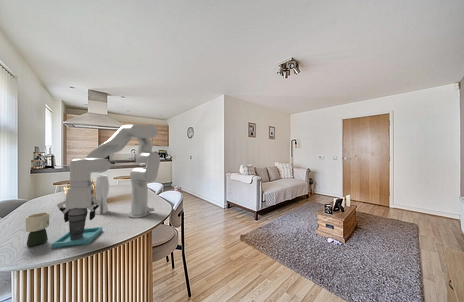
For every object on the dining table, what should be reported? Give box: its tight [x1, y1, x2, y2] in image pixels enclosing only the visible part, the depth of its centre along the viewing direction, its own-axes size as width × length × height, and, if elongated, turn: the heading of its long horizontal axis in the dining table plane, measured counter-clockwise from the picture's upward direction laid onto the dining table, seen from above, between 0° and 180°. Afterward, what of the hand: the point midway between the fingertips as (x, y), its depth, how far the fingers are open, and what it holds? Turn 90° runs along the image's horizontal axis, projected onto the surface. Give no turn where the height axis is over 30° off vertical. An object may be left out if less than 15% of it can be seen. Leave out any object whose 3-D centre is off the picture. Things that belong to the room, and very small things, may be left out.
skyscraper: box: [94, 173, 111, 216], centre depth 118 cm, size 8×8×28 cm
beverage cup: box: [68, 208, 89, 240], centre depth 82 cm, size 7×7×20 cm
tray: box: [50, 226, 103, 249], centre depth 82 cm, size 14×14×2 cm
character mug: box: [25, 211, 50, 247], centre depth 78 cm, size 11×7×13 cm, turn 64°
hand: (80, 220), depth 82 cm, fingers open, 9 cm apart
